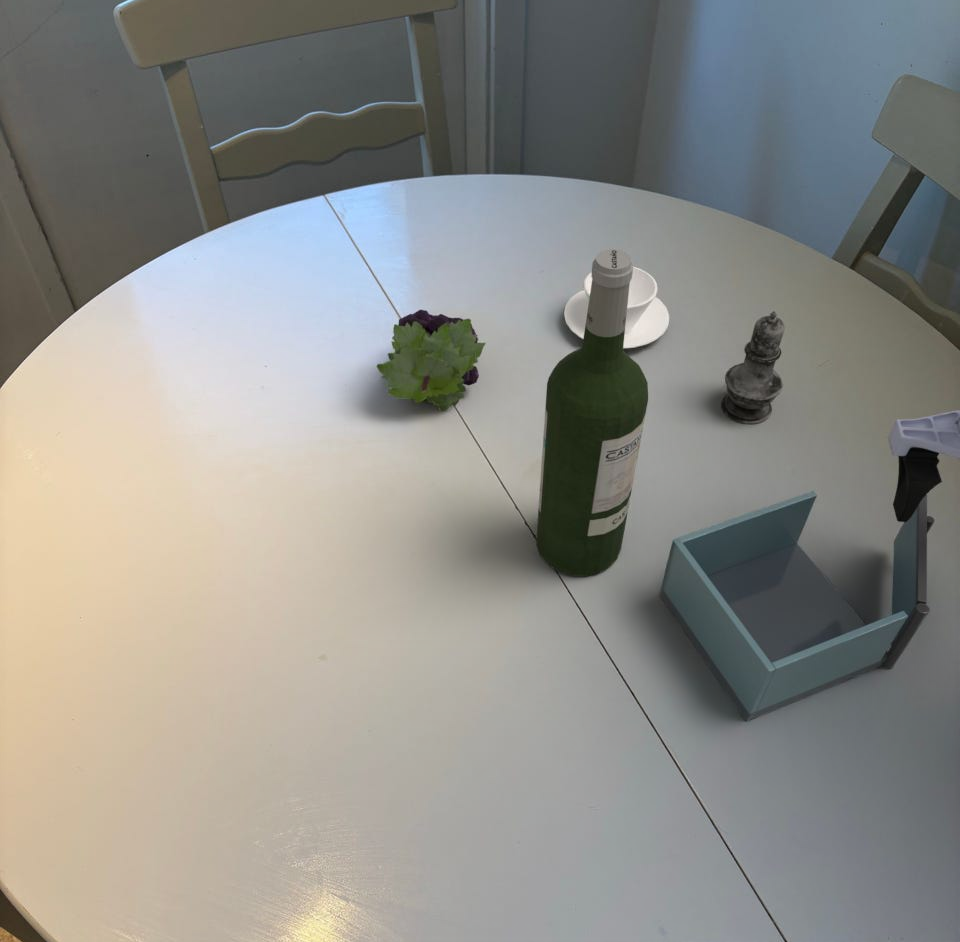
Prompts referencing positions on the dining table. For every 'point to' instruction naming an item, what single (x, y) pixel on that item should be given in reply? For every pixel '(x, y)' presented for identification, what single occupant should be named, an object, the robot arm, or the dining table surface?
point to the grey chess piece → (755, 374)
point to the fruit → (432, 359)
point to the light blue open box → (772, 611)
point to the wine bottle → (592, 433)
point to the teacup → (643, 310)
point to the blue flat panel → (911, 562)
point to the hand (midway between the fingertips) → (947, 515)
